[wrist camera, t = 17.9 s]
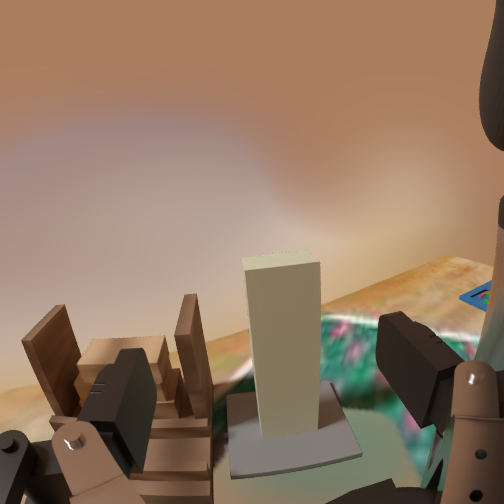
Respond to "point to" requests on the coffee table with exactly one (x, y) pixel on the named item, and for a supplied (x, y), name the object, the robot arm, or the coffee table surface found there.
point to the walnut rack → (163, 430)
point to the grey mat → (287, 439)
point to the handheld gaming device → (478, 296)
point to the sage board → (285, 339)
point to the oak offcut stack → (158, 358)
